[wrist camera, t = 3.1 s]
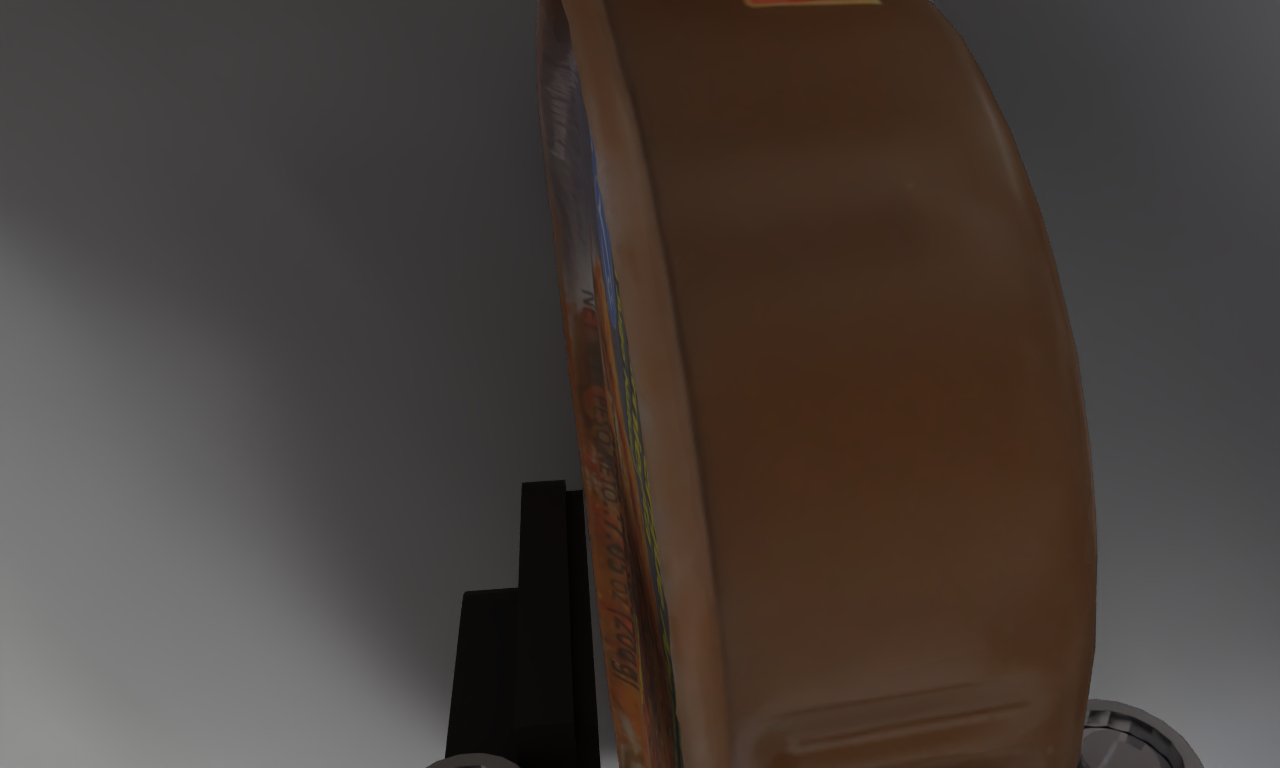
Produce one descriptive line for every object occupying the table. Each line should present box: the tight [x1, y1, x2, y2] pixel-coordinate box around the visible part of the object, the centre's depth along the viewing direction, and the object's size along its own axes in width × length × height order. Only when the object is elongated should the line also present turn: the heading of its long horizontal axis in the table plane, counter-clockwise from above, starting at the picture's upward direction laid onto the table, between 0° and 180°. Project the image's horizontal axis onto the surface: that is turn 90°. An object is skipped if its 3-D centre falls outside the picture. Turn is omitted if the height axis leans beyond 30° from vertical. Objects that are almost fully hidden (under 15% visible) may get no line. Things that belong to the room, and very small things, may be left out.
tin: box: [536, 0, 1097, 768], centre depth 11 cm, size 15×3×8 cm, turn 4°
